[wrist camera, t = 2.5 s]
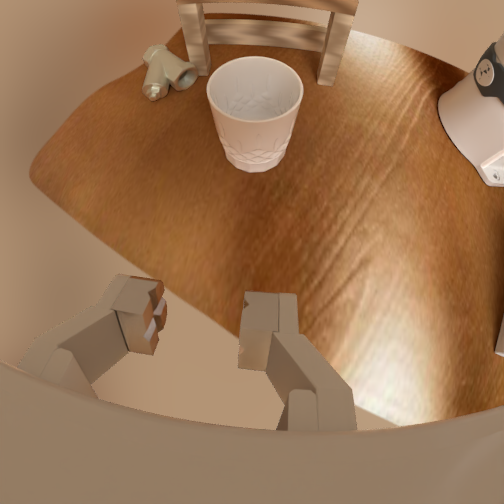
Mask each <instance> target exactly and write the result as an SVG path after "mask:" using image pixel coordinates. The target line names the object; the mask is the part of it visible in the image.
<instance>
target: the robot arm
mask: <svg viewBox="0 0 504 504" xmlns="http://www.w3.org/2000/svg"><path fill="white" fill-rule="evenodd" d="M438 110H439V115H440V118H441V121H442V124H443V126H444V128H445V130H446V132H447V134H448V135H449V137H450V138H451V140H452V141H453V143H454V144H455V145H456V147H457V148H458V149H459V150H460V152H461V153H462V154H463V155H464V156H465V157H466V158H467V159H468V160H469V161H470V162H471V163H472V164H473V165H474V166H475V168H476V169H477V171H478V173H479V174H480V176H481V178H482V179H483V181H484V182H485V183H486V184H487V185H489V186H500V187H504V33H503V34H502V36H501V37H500V39H499V40H498V41H497V42H494V43H492V44H491V45H490V47H489V48H488V49H487V50H486V51H485V53H484V54H483V55H482V57H481V58H480V60H479V62H478V64H477V66H476V68H475V69H474V70H472V72H470V73H469V74H468V75H467V76H466V77H465V78H464V79H463V80H462V81H459V82H458V83H457V84H456V85H455V86H454V87H453V88H452V89H450V90H449V91H447V92H445V93H444V94H442V95H441V97H440V99H439V102H438ZM163 293H164V285H163V282H162V281H161V280H156V279H150V278H143V277H137V276H129V275H123V274H118V275H116V276H115V277H114V279H113V280H112V281H111V283H110V285H109V286H108V288H107V289H106V291H105V292H104V294H103V295H102V297H101V299H100V300H99V302H98V303H97V305H96V307H94V306H91V307H89V308H87V309H85V310H84V311H82V312H80V313H78V314H76V315H75V316H73V317H71V318H70V319H68V320H66V321H64V322H62V323H61V324H59V325H57V326H55V327H54V328H52V329H50V330H48V331H47V332H45V333H43V334H42V335H40V336H38V337H36V338H35V339H34V341H33V342H32V344H31V345H30V347H29V348H28V350H27V352H26V353H25V355H24V357H23V359H22V360H21V362H20V363H19V365H18V367H17V368H16V367H14V366H12V365H10V364H8V363H6V362H4V361H2V360H0V504H504V405H503V406H500V407H496V408H492V409H489V410H485V411H481V412H477V413H473V414H469V415H465V416H460V417H455V418H450V419H445V420H440V421H434V422H428V423H422V424H415V425H408V426H400V427H392V428H381V429H369V430H357V424H356V415H355V408H354V400H353V393H352V389H351V388H350V387H349V386H348V384H347V383H346V382H345V381H344V380H343V379H342V378H341V377H340V375H339V374H338V373H337V372H336V371H335V370H334V369H333V367H332V366H331V365H330V364H329V363H328V362H327V361H326V359H325V358H324V357H323V356H322V355H321V354H320V353H319V351H318V350H317V349H316V348H315V347H314V346H313V345H312V343H311V342H310V341H309V340H308V339H307V338H306V336H305V335H304V334H299V329H298V310H297V296H296V294H291V293H273V292H262V291H251V290H246V291H245V296H244V307H243V311H242V318H241V326H240V338H239V345H240V346H239V354H238V368H239V369H247V370H255V371H264V372H266V374H267V376H268V378H269V380H270V381H271V383H272V385H273V386H274V388H275V390H276V391H277V393H278V395H279V397H280V398H281V400H282V402H283V403H284V405H285V406H284V409H283V412H282V415H281V418H280V420H279V423H278V426H277V428H276V430H265V429H252V428H242V427H232V426H224V425H216V424H209V423H202V422H196V421H189V420H184V419H179V418H174V417H169V416H164V415H159V414H154V413H150V412H146V411H141V410H137V409H133V408H129V407H125V406H122V405H118V404H114V403H111V402H107V401H104V400H101V399H99V398H98V396H97V394H96V393H95V391H94V390H93V388H92V387H91V384H92V383H93V382H95V381H96V380H97V379H98V378H99V377H100V376H102V375H103V374H104V373H105V372H106V371H108V370H109V369H110V368H111V367H112V366H113V365H115V364H116V363H117V362H118V361H119V360H121V359H122V358H123V357H124V356H125V355H126V354H128V351H129V352H134V353H141V354H146V355H152V356H153V355H154V352H155V349H156V346H157V344H158V341H159V338H158V332H160V331H161V330H163V328H164V325H165V322H166V316H167V305H166V301H165V299H164V298H163V297H162V295H163Z"/></svg>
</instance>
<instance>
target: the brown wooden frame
mask: <svg viewBox="0 0 504 504" xmlns="http://www.w3.org/2000/svg"><path fill="white" fill-rule="evenodd" d="M219 2H241V3H243V2H244V3H267V4H279V5H290V6H298V7H307V8H313V9H320V10H326V11H331V14H330V19H329V23H328V28H325V27H318V26H312V25H305V24H297V23H288V22H277V21H264V20H242V19H210V20H205V19H204V12H203V6H202V3H219ZM176 3H177V7H178V11H179V16H180V20H181V25H182V29H183V34H184V38H185V42H186V47H187V51H188V56H189V60H190V63H192V64H193V65H194V66H195V67H196V69H197V71H198V76H208V75H209V71H210V68H211V58H210V52H209V45H208V44H243V45H262V46H275V47H286V48H295V49H303V50H310V51H317V52H322V53H321V57H320V62H319V66H318V70H317V84H320V85H327V86H333V84H334V81H335V78H336V75H337V71H338V68H339V65H340V62H341V59H342V55H343V52H344V49H345V46H346V43H347V39H348V36H349V33H350V29H351V26H352V23H353V20H354V16H355V13H356V9H357V6H358V3H359V2H358V0H176Z"/></svg>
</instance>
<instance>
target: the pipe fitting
mask: <svg viewBox="0 0 504 504" xmlns="http://www.w3.org/2000/svg"><path fill="white" fill-rule="evenodd" d="M142 59H143V61H144V63H145V65H146V66H147V67H148V71H147V74H146V77H145V81H144V84H143V87H142V93H143V94H144V95H145V96H146V97H147V98H148V99H149V100H150V101H155V100H157V99H159V98H163V97H165V96H166V95H167V93H168V88H169V84H171V86H172V87H173V88H174V89H176V90H177V91H181V90H185V89H188V88H189V87H191V86H192V85H193V84H194V82H195V81H196V79H197V78H198V71H197V69H196V67H195V66H194V65H193V64H192V63H190V62H185V61H183V60H182V59H180V58H179V57H177V56H176V55H174V54H173V53H171V52H170V51H169V50H168V48H167V47H166V46H164V45H163V44H159V45H154V46H150V47H149V49H148V50H147V51H146V53H145V54H144V56H143V58H142Z"/></svg>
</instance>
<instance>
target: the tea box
mask: <svg viewBox="0 0 504 504" xmlns="http://www.w3.org/2000/svg"><path fill="white" fill-rule="evenodd" d="M495 353H496V354H499V355H501V356H503V357H504V315H503V320H502V324H501V328H500V332H499V336H498V340H497V344H496V348H495Z"/></svg>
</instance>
